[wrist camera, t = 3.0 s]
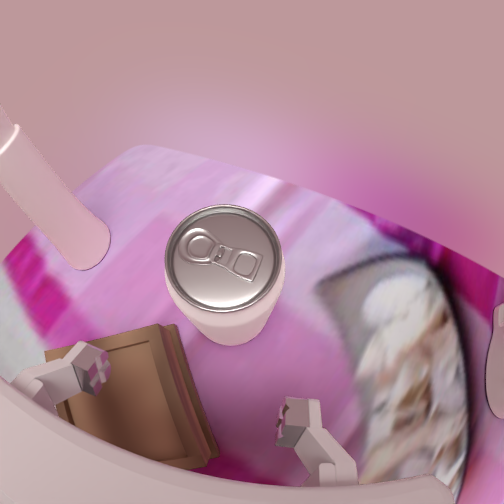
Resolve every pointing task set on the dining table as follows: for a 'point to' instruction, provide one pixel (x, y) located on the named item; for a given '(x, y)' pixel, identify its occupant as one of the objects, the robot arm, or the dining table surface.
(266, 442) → the dining table surface
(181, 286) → the can
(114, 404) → the pedestal
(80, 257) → the pink bottle
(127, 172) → the dining table surface
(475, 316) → the dining table surface
